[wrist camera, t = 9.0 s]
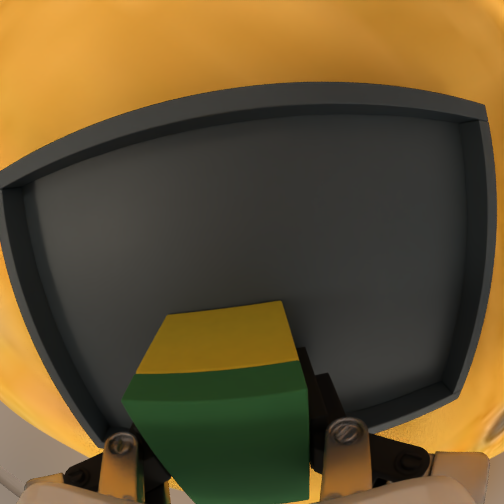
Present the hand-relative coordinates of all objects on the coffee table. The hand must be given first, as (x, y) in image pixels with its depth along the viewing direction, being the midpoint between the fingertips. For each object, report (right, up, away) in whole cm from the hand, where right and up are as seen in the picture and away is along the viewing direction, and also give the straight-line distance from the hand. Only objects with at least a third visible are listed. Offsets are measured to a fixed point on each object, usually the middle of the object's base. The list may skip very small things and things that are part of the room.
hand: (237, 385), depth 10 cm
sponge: (0, 0, +1) cm, 1 cm away
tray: (+1, +3, 0) cm, 4 cm away
